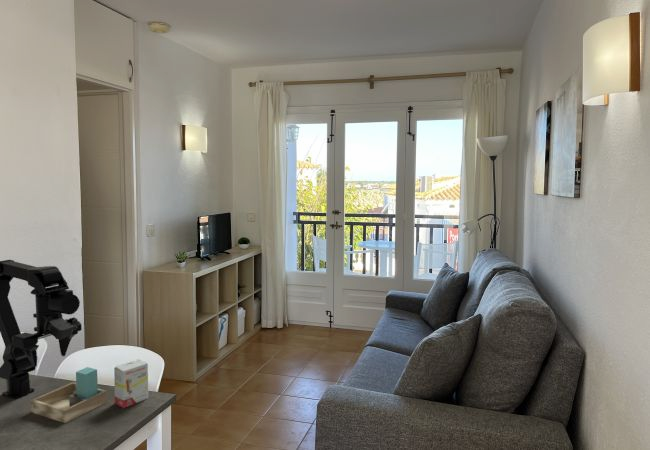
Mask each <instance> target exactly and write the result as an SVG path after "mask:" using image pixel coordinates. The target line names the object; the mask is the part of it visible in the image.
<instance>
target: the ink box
mask: <svg viewBox="0 0 650 450" xmlns="http://www.w3.org/2000/svg"><path fill="white" fill-rule="evenodd" d="M148 369H149V367H148V362H146V361H144V360H142V359H135V360H130V361H129V362H126V363H125V362H124V363H121V364H118V365H116V366H115V367H114V369H113V370H114V379H113V381H114V404H115V405H116V406H119V407H121V408H123V409H125V408H126V407H130V406H133V405H135V404H138V403H139V402H142V401H145V400H146V399H149V371H148Z"/></svg>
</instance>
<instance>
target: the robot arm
mask: <svg viewBox="0 0 650 450" xmlns="http://www.w3.org/2000/svg"><path fill="white" fill-rule="evenodd" d="M13 279H19V280H22V281H25V282H27V284H28V286H29V287H31V288H33V289H32V290H31V291H30V294H31V295H35V313H33V317H32V318H33V319H34V318H36V319H35V320H36V326H34V327H33V331H34V332H36V333H30V332H27V331H26V332H22V333H21V330H20V327H19V324H18V322H17V318H16V317H15V314H14V311H13V308H12V306H11V302H10V299H9V294H10V291H11V282H12V280H13ZM80 303H81V301H80V299H79V297H78V296H77V295H75V294H74V291H73V290H72V289H70V288H69V285H68V282H67V280H65V278H64V276H63V274H62V272H61V270H60V269H59V268H58V267H57V266H55V265H51V266H50V265H47V266H45V265H44V266H34V265H30V264H26V263H23V262H22V263H21V262H19V261H15V260H13V259H5V260H0V336H1V337H2V341H3V343H4V350H3V355H2V360H3V363H2V364H1V366H0V378H1V379H4V380H5V381H6V391H4V392H2V393H1V395H2V396H5V397H8V398H11V399H18V398H20V397H23V396H26V395H27V394H30V393H32V392H34V391H35V388H34V387H33V388H32V387H31V381H30V374H29V373H30V372H33V371H36V367H37V365H38V352H37V350H38V348H39V347H40V346H39V344H38V343H39V340H41V339H44V338H47V337H51V336H53V337H54V338H55V339H56V340H58V345H59V351H60V355H61V356H62V357H65V356H66V354H67V352H68V349H69V346H70V342H71V341H72V338H74V337H75V336H76V335H78V333H79V332H80V331H82V328H83V327H82V323H81V322H80V321H79V320H78V318H76V317H75V316H73V317H70V318H66V319H64V318H63V315H64V314H65V315H73V314H75V313H76V312H77V311H78V310H79V308H80Z"/></svg>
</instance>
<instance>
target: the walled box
mask: <svg viewBox="0 0 650 450" xmlns="http://www.w3.org/2000/svg"><path fill="white" fill-rule="evenodd" d="M107 395H108V394H107V390H104V389H101V388H98V394H96V395H94V396H91V397H89V398H87V399H83V398H80V397H77V389H76V381H72V382H70V383H68V384H65V385H63V386H61V387H59V388H56V389H54V390H52V391H49V392H48V393H45V394H42V395H40V396H38V397H35V398H33V399H31V400H30V413H32V414H36V415H38V416H41V417H44V418H48V419H51V420H54V421H58V422H61V423H63V424H66V423H69V422H71V421H73V420H75V419H76V418H78V417H80V416H82V415H84V414H86V413H89V412H91V411H92V410H94V409H96V408H98V407H100V406H103V405H104V404H105V403H107V401H108V400H107Z"/></svg>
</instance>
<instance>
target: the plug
mask: <svg viewBox="0 0 650 450" xmlns="http://www.w3.org/2000/svg"><path fill="white" fill-rule="evenodd" d="M75 382H76V389H77V397H80V398H83V399H87V398H89V397H91V396H94V395H96V394H98V389H99V387H98V369H96V368H92V367H88V366H87V367H84V368H82V369H80V370H77V371H75Z"/></svg>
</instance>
